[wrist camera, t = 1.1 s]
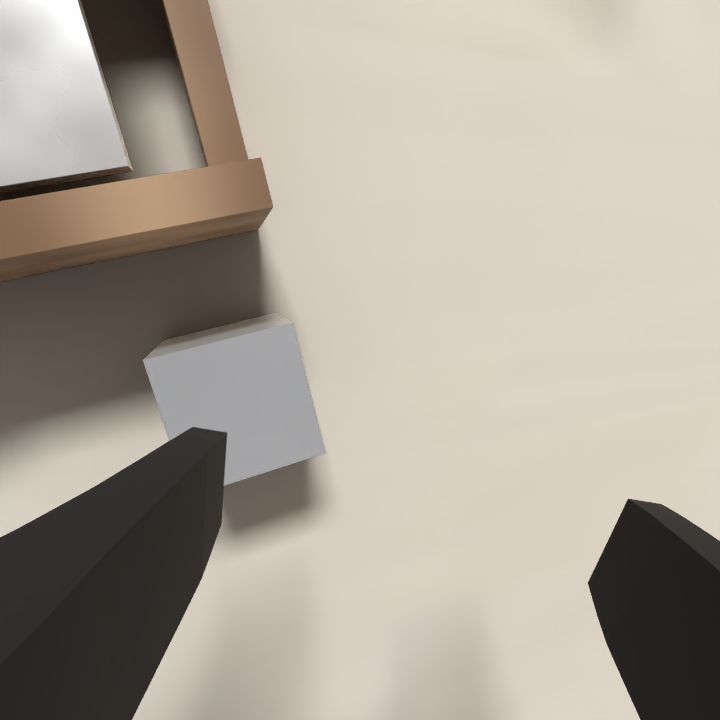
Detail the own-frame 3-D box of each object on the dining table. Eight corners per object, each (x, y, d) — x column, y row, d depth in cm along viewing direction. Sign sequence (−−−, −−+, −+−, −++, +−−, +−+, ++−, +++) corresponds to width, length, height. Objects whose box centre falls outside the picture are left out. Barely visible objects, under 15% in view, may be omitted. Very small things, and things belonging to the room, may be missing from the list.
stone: (196, 445, 18) (188, 497, 14) (163, 340, 17) (142, 360, 13) (302, 413, 19) (325, 453, 15) (276, 312, 18) (292, 322, 14)
